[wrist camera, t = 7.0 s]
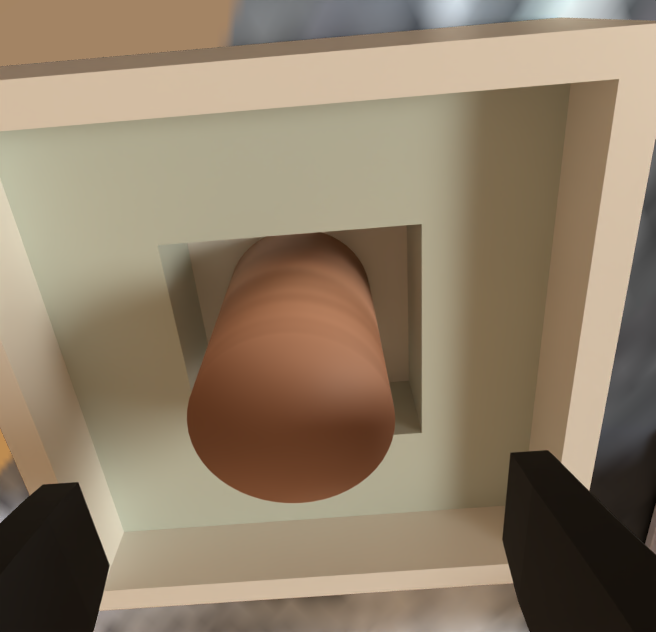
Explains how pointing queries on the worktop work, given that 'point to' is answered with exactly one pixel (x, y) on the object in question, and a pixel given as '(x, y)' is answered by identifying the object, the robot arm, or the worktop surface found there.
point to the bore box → (367, 244)
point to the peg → (294, 375)
